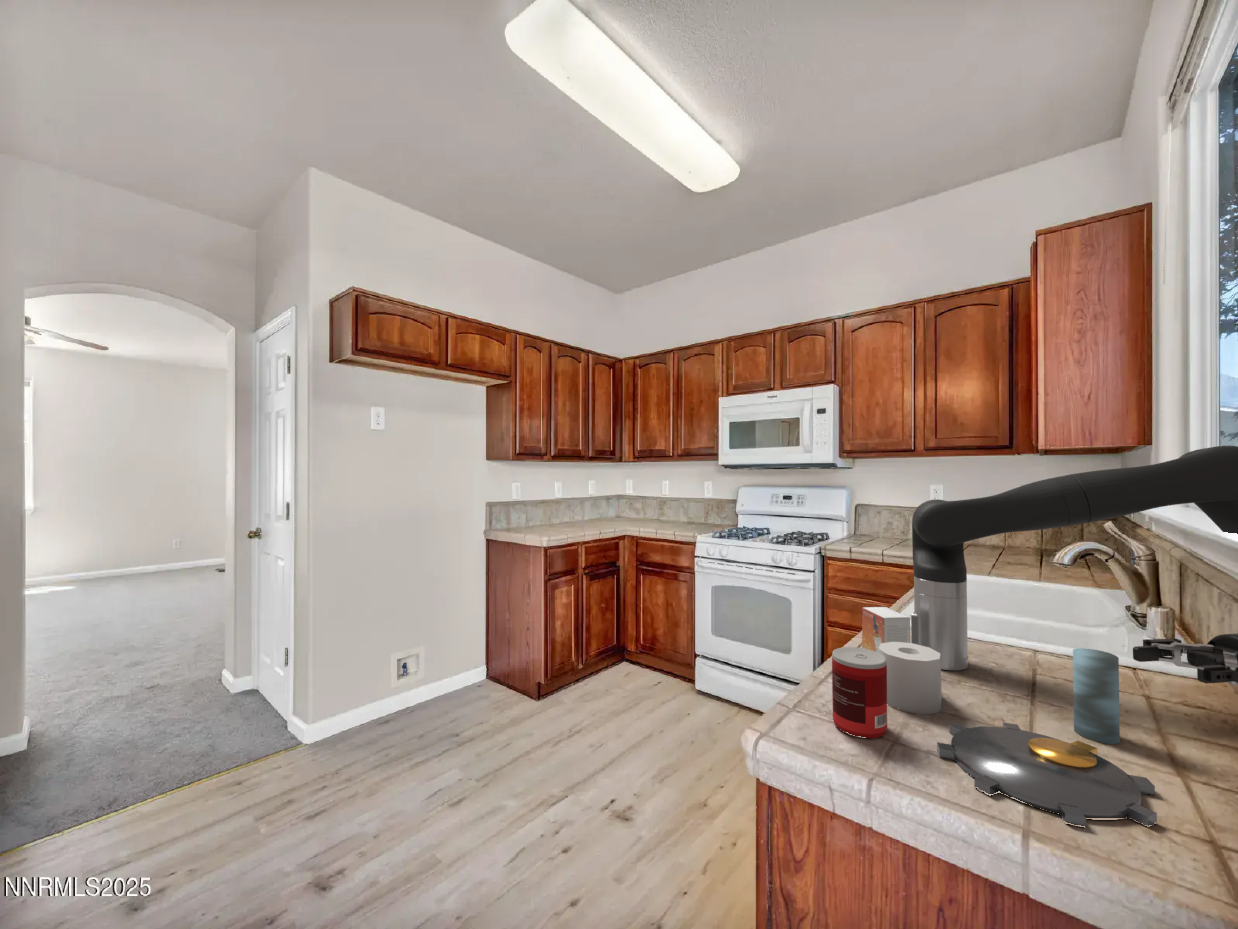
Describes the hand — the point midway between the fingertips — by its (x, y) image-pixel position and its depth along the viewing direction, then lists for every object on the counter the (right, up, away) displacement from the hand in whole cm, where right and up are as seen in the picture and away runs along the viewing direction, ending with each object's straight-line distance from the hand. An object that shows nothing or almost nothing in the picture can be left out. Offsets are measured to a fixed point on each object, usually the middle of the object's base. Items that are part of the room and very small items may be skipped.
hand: (1166, 664), depth 78 cm
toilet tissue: (-32, -11, +11) cm, 35 cm away
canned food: (-45, -11, +2) cm, 47 cm away
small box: (-28, -11, +28) cm, 41 cm away
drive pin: (-11, -10, -1) cm, 15 cm away
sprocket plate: (-28, -10, -10) cm, 31 cm away
